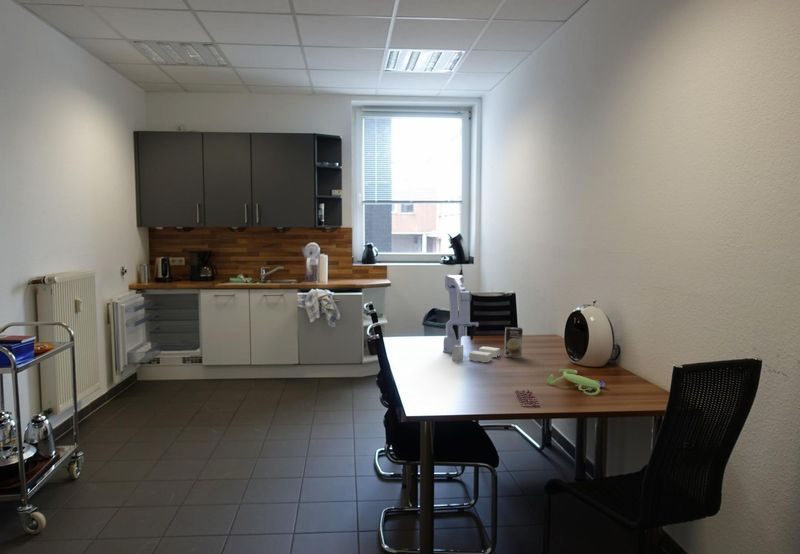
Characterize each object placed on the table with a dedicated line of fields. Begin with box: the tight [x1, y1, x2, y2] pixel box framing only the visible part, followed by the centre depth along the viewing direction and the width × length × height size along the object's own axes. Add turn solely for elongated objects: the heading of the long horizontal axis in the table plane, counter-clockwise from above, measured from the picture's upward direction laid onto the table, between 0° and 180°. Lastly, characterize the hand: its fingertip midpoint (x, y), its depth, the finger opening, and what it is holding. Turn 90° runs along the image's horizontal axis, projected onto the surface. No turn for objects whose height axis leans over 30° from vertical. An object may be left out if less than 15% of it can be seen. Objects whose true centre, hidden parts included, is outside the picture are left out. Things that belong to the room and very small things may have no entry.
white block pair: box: [469, 346, 501, 363], centre depth 302 cm, size 10×20×4 cm, turn 150°
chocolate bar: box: [514, 389, 541, 407], centre depth 229 cm, size 7×19×2 cm, turn 176°
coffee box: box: [503, 326, 524, 359], centre depth 305 cm, size 9×6×16 cm
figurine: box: [545, 368, 606, 396], centre depth 250 cm, size 18×27×6 cm
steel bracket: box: [451, 344, 464, 363], centre depth 295 cm, size 4×5×8 cm
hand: (464, 339), depth 292 cm, fingers open, 7 cm apart
